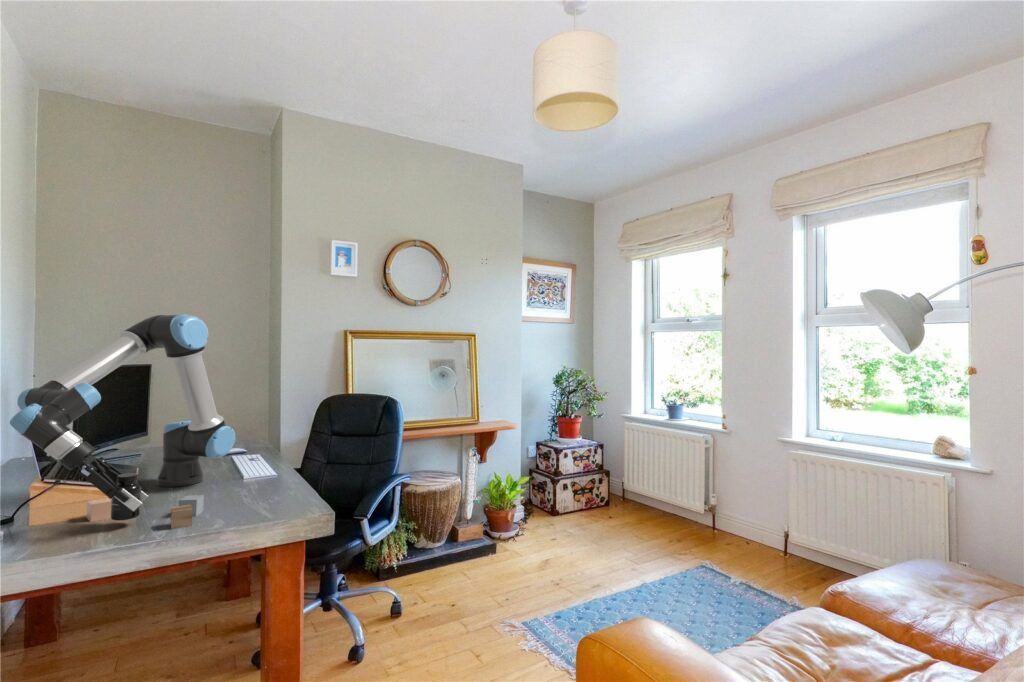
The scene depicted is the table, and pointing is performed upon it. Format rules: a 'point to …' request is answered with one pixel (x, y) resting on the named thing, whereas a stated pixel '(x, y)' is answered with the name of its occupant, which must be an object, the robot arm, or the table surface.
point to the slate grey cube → (193, 503)
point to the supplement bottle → (134, 488)
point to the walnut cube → (181, 516)
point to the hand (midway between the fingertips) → (141, 503)
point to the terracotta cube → (98, 509)
